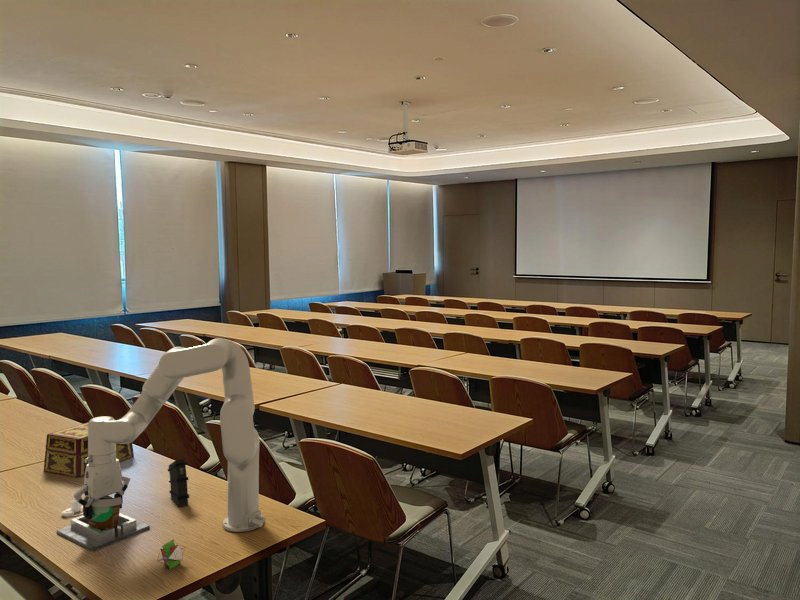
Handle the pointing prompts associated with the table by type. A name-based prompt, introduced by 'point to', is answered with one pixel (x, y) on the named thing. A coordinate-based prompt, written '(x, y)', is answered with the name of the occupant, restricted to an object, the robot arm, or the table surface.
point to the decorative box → (74, 451)
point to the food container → (105, 513)
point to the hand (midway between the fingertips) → (103, 512)
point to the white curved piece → (72, 509)
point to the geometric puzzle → (171, 554)
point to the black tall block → (178, 482)
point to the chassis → (101, 532)
